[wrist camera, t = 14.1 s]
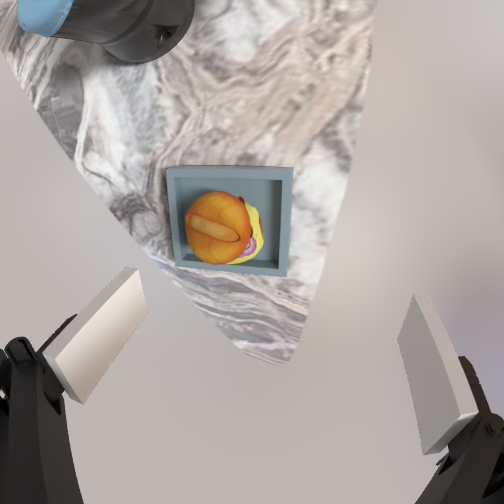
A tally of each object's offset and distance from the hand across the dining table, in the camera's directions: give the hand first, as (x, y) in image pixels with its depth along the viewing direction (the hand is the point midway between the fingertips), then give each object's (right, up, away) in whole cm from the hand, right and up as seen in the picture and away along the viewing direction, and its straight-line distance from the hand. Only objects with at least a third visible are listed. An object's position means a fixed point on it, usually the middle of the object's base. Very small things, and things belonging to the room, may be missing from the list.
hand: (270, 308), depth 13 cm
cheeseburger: (-4, +7, +29) cm, 31 cm away
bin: (-4, +8, +29) cm, 31 cm away
